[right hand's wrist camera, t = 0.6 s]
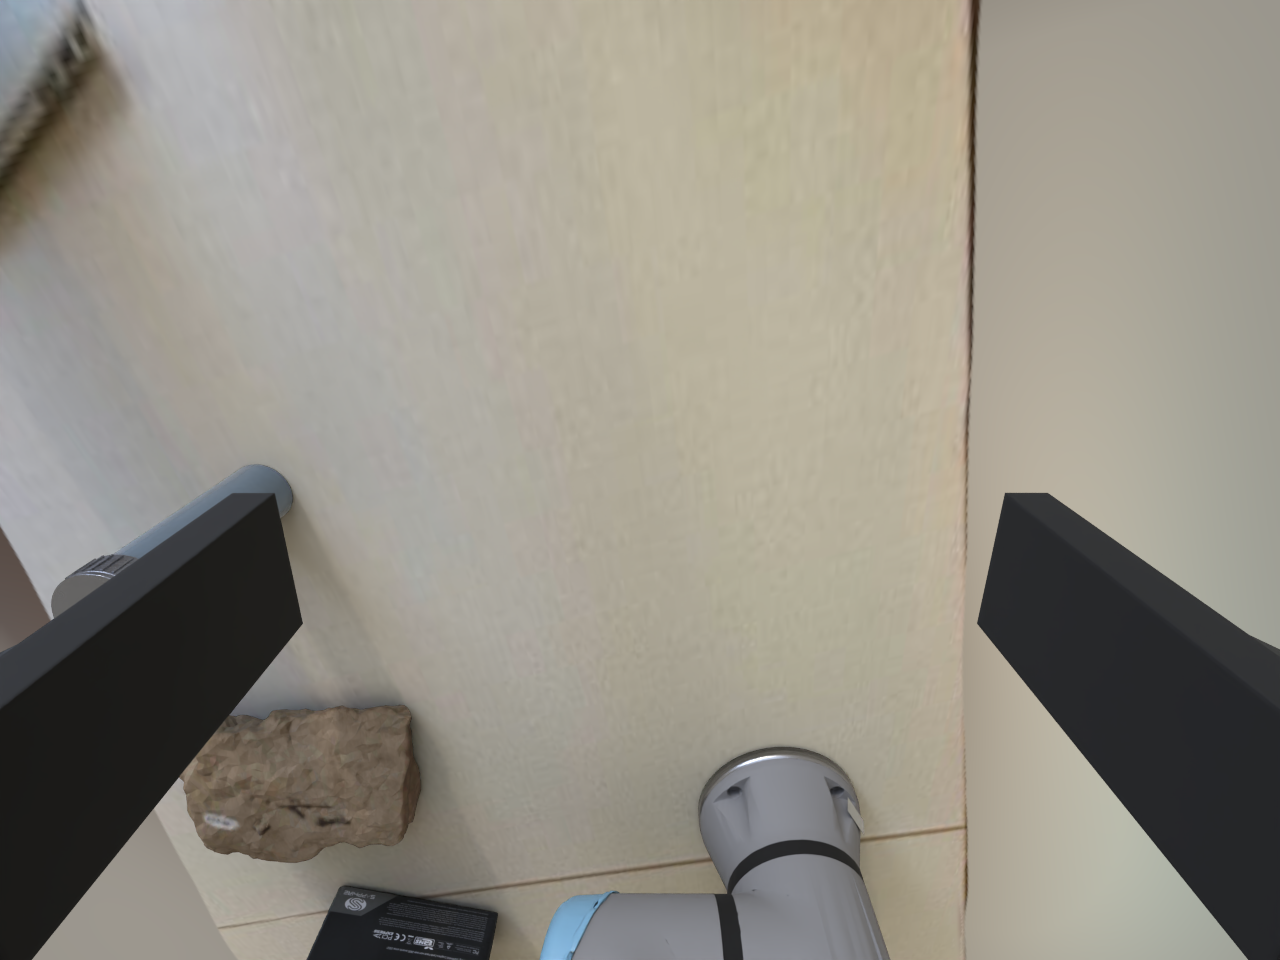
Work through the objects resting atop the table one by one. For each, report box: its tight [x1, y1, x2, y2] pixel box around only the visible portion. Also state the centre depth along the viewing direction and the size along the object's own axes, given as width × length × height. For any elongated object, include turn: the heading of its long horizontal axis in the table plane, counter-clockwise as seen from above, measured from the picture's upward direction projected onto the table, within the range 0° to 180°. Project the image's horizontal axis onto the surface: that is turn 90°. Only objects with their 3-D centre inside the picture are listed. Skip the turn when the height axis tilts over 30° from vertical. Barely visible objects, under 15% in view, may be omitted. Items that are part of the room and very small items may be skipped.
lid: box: [51, 554, 138, 618], centre depth 39 cm, size 6×6×2 cm
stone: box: [179, 705, 421, 863], centre depth 62 cm, size 21×15×6 cm
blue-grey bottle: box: [114, 465, 293, 559], centre depth 47 cm, size 5×5×17 cm
